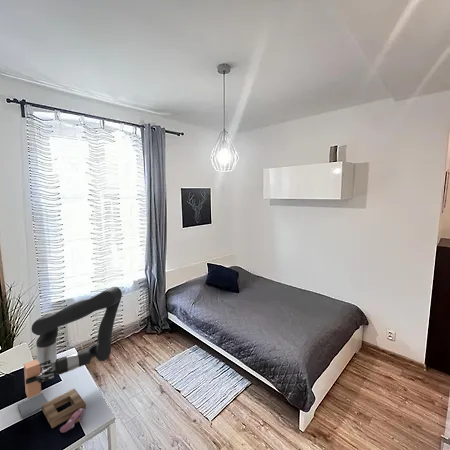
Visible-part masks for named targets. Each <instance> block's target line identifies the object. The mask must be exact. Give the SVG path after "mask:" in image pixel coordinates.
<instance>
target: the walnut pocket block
mask: <svg viewBox="0 0 450 450" xmlns="http://www.w3.org/2000/svg"><path fill="white" fill-rule="evenodd" d="M47 401H48V402H46V403H44V404H42V409H41V411H42V412H43V414H44V416H45V418H46V419H47V422H48V424H49V426H50V427H51V429H54V428H56V427H58V425H61V424H62V423H64V422H66V421H68V420H69V419H70V418H71V416H72V415H73V414H74V413H75V412H76V411H78V410H79V409H80V408H82V409H84V410H85V411H86V409H87V403H86V402H85V401H84V399H83V398H82V396H81V395H80V394H79V392H78V391H77V390H76V388H73V389H71V390H69V391H67V392H64V393H62V394H60V395H59V396H56V397H55V398H52V399H50V400H47ZM69 402H70V404H71V405H70V406H68V407H66V408H65V409H63V410H61V411H59V412H58V410H57V409H58V408H60V407H62V406H64V405H66V404H68V403H69Z"/></svg>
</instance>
